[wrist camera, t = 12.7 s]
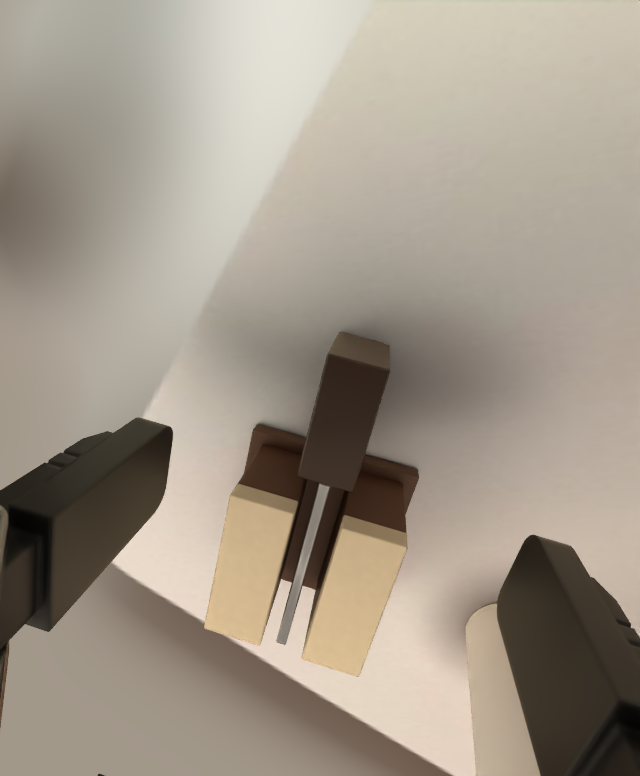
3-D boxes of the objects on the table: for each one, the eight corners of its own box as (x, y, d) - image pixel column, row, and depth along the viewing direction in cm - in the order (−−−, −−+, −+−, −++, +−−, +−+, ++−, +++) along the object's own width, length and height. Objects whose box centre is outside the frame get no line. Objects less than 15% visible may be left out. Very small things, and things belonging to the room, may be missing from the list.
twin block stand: (257, 423, 19) (217, 477, 14) (418, 469, 18) (428, 539, 14) (229, 554, 21) (189, 634, 17) (372, 597, 21) (368, 691, 16)
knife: (339, 331, 17) (327, 353, 14) (389, 344, 17) (390, 369, 13) (277, 572, 21) (256, 636, 18) (318, 585, 21) (304, 651, 17)
